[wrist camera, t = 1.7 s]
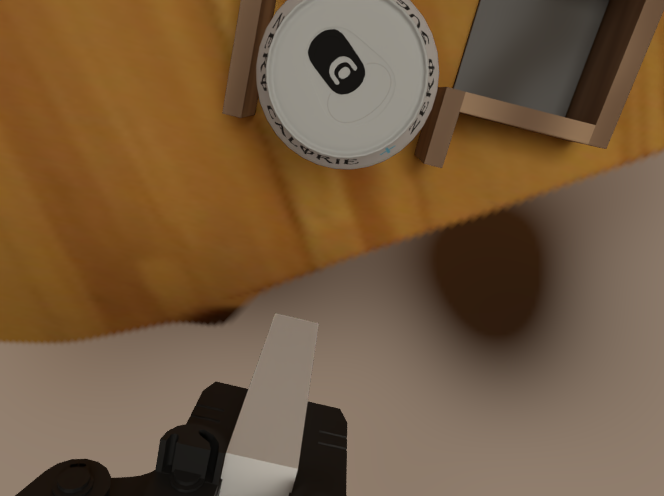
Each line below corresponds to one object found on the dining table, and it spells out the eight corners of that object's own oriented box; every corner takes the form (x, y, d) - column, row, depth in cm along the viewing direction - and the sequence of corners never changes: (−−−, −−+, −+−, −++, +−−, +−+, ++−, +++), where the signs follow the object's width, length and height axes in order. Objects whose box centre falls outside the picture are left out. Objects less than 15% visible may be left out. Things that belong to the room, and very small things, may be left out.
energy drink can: (337, 156, 30) (327, 215, 16) (275, 74, 28) (203, 56, 14) (418, 94, 29) (489, 96, 14) (357, 4, 27) (369, -91, 13)
